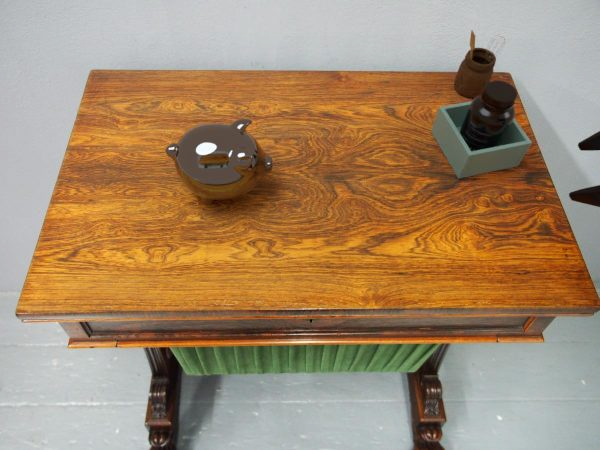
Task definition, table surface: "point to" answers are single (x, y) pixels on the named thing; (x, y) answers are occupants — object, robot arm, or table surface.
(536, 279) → the table surface
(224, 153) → the piggy bank
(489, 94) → the supplement bottle
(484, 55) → the utensil holder
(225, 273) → the table surface
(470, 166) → the open storage bin
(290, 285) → the table surface
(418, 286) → the table surface
